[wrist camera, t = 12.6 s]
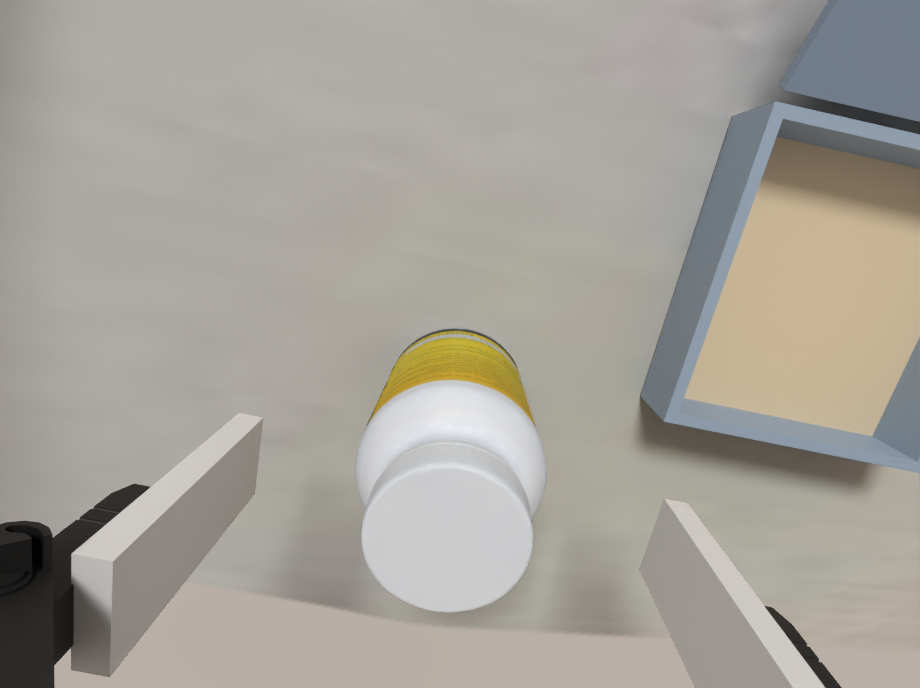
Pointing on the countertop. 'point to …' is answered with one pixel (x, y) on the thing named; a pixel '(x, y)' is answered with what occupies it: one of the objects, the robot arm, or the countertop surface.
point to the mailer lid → (862, 57)
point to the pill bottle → (450, 474)
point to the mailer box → (801, 291)
